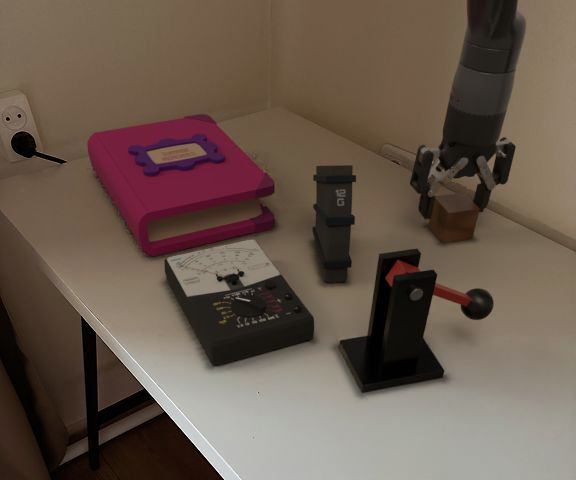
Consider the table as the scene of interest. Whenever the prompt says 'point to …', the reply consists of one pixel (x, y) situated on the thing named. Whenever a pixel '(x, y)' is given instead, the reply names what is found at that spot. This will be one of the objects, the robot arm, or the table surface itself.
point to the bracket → (395, 329)
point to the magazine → (333, 220)
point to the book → (181, 183)
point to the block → (453, 217)
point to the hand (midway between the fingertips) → (451, 213)
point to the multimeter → (237, 301)
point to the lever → (453, 294)
